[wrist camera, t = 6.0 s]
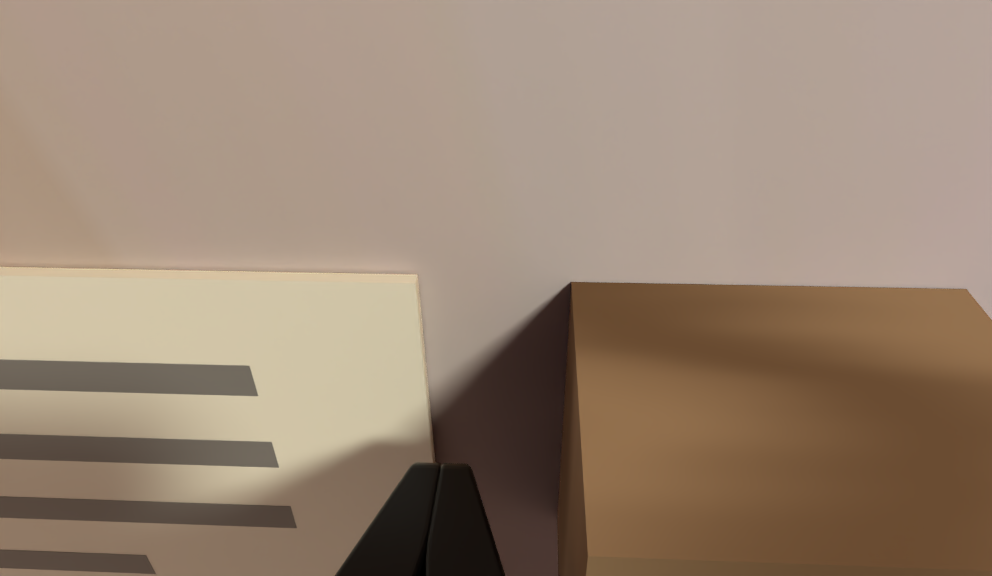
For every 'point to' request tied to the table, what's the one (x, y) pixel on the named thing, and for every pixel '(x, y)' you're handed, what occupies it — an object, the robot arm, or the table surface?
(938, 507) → the walnut block
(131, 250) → the table surface
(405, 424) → the letter
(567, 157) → the table surface
